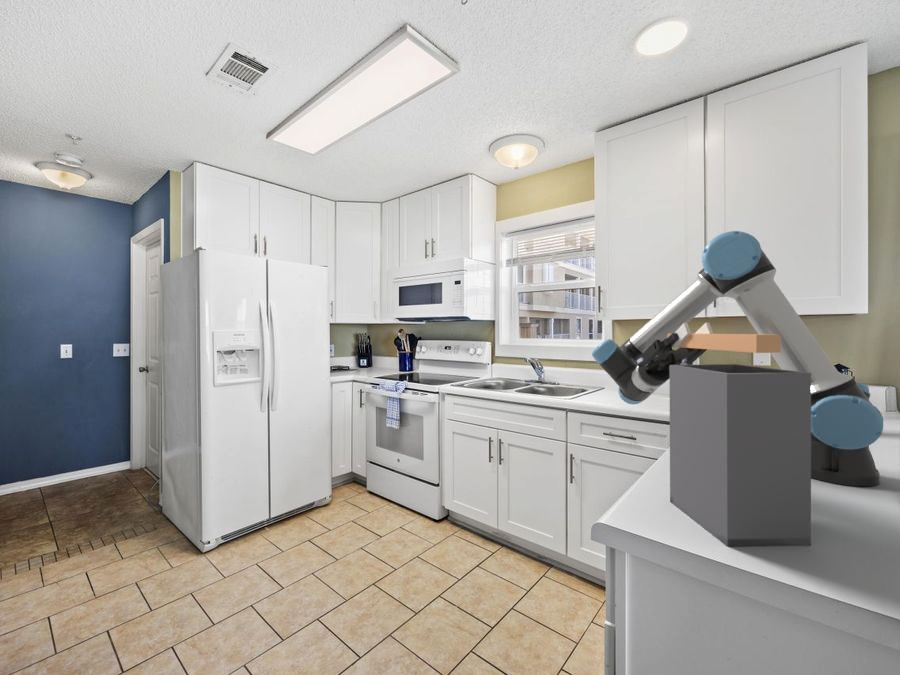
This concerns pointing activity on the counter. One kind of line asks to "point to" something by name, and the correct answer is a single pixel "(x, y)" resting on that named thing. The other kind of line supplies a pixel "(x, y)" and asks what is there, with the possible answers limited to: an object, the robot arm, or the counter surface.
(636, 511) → the counter surface
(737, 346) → the slat
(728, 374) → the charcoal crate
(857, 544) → the counter surface
